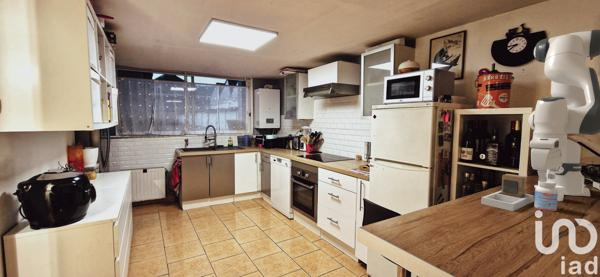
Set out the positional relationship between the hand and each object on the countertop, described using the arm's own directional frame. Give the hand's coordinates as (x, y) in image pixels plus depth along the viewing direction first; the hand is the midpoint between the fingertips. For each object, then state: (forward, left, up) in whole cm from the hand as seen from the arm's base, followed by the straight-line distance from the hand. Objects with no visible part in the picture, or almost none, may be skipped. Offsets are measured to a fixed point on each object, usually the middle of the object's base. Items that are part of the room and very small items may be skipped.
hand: (547, 180), depth 93 cm
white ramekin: (-18, -2, -12) cm, 21 cm away
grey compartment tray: (+4, -10, -12) cm, 16 cm away
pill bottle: (-1, 0, -12) cm, 12 cm away
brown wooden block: (-1, -10, -10) cm, 14 cm away
